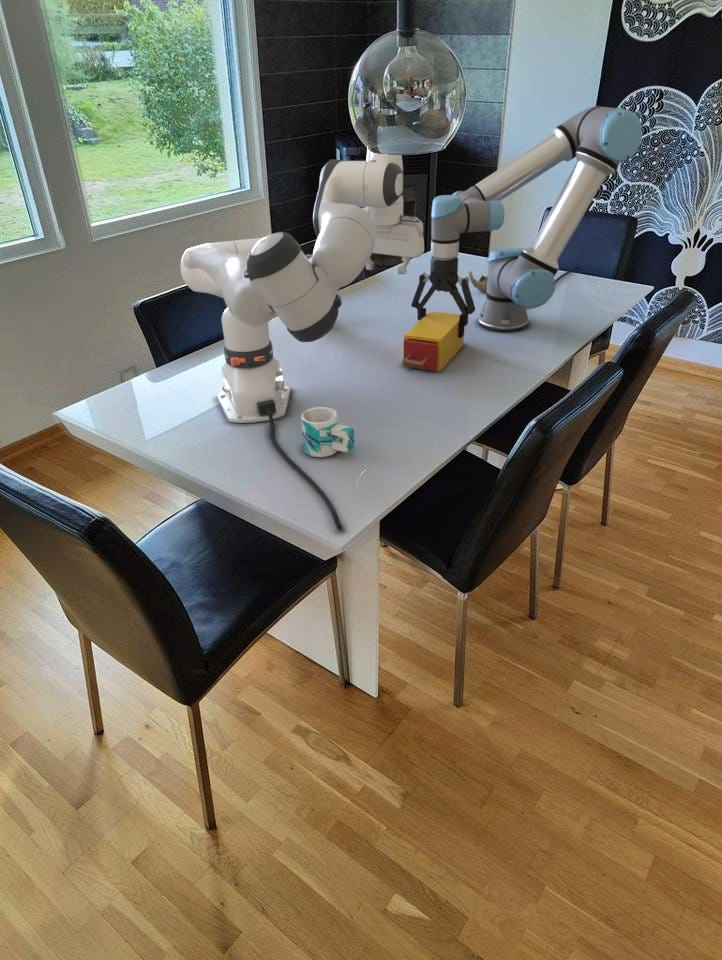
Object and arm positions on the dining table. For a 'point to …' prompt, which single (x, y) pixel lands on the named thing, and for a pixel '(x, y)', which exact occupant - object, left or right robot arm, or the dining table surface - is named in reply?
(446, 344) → the cabinet
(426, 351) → the drawer
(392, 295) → the dining table surface
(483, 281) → the jawbone
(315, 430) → the mug
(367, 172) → the left robot arm
